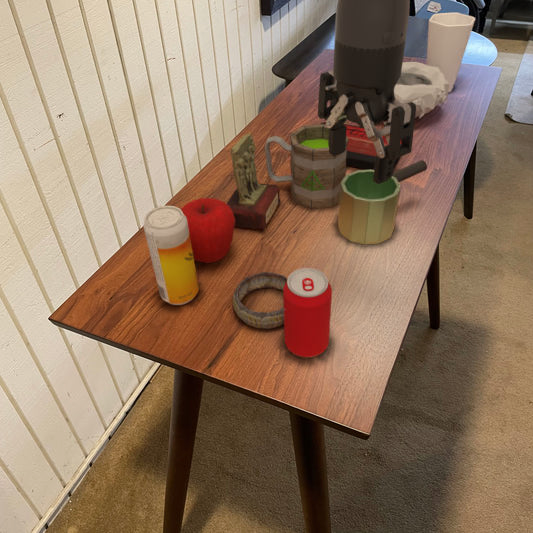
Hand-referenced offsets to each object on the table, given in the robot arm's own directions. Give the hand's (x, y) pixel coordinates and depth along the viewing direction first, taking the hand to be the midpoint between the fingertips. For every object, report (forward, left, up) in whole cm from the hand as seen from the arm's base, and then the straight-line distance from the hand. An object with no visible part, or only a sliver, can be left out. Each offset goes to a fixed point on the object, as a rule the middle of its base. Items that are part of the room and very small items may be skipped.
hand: (358, 166), depth 65 cm
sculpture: (+6, -25, -22) cm, 34 cm away
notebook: (-23, -39, -22) cm, 50 cm away
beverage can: (+10, +7, -22) cm, 25 cm away
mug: (-6, -28, -22) cm, 36 cm away
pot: (-15, -14, -22) cm, 30 cm away
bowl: (-41, -50, -22) cm, 68 cm away
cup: (-59, -58, -22) cm, 85 cm away
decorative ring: (+13, -2, -22) cm, 26 cm away
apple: (+17, -17, -22) cm, 33 cm away
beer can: (+24, -10, -22) cm, 34 cm away
